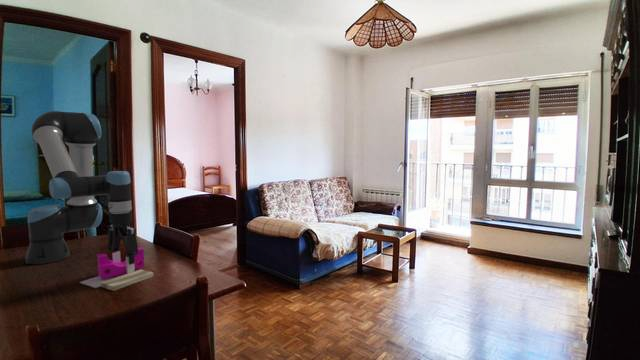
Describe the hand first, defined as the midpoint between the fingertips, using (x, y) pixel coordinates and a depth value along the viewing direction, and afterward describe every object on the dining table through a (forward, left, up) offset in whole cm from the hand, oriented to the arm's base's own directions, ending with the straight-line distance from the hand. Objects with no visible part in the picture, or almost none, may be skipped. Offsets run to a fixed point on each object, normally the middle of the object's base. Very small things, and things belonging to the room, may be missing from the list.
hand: (123, 270), depth 130 cm
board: (+8, -4, -2) cm, 9 cm away
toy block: (0, 0, -1) cm, 1 cm away
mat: (-1, -6, -2) cm, 6 cm away
